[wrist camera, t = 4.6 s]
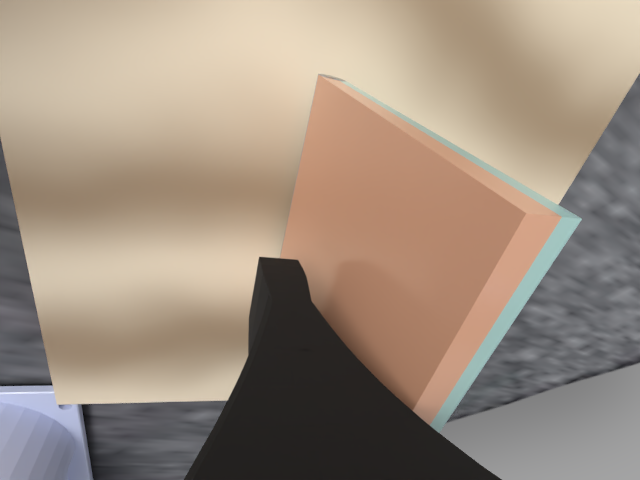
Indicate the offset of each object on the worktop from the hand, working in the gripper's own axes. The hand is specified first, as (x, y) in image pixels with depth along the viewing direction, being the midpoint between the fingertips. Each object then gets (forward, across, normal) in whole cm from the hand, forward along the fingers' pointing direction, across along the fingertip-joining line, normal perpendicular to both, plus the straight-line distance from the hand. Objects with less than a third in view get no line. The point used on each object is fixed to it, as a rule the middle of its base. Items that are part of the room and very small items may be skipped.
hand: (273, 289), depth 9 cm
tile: (0, -1, 0) cm, 1 cm away
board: (+5, -2, 0) cm, 6 cm away
